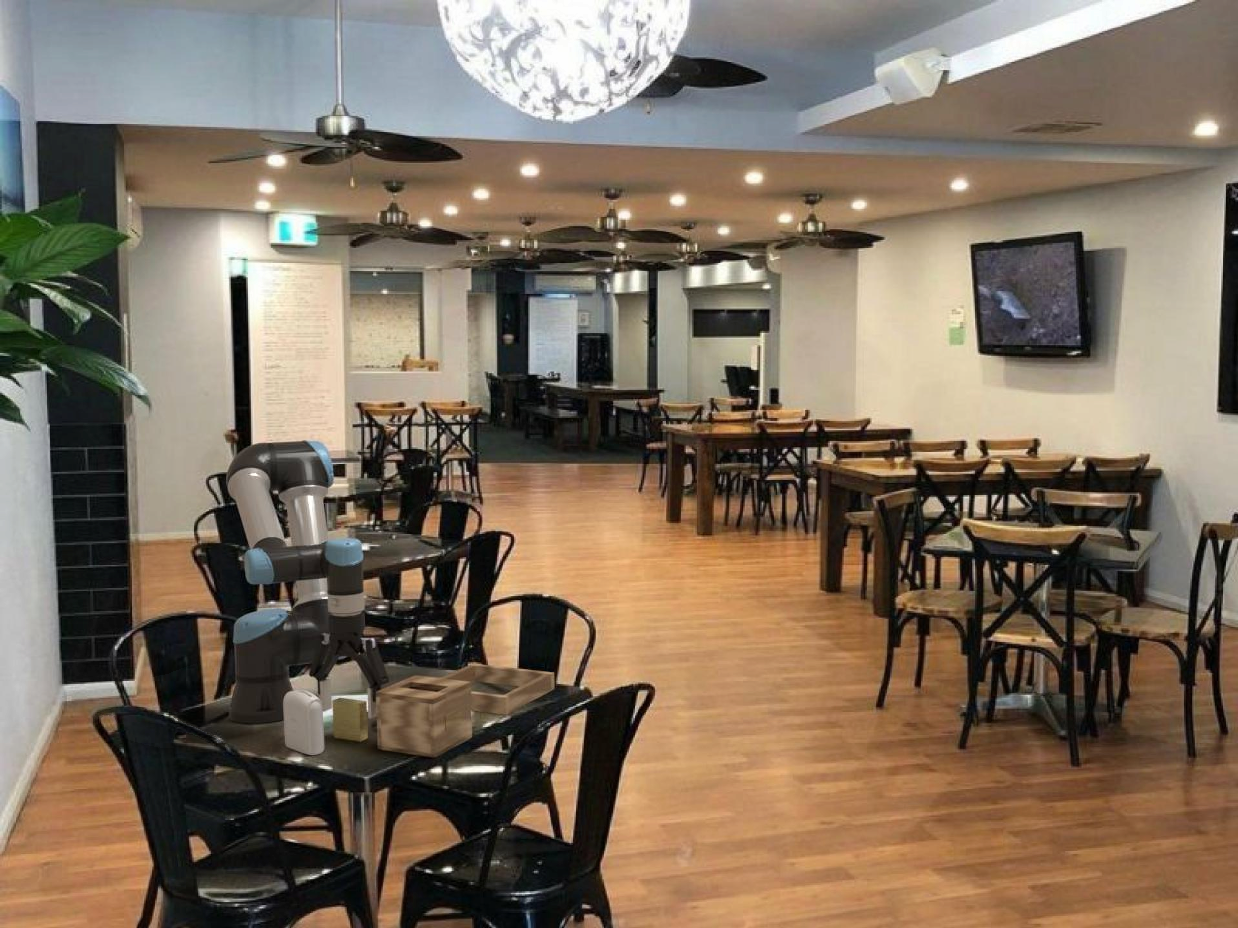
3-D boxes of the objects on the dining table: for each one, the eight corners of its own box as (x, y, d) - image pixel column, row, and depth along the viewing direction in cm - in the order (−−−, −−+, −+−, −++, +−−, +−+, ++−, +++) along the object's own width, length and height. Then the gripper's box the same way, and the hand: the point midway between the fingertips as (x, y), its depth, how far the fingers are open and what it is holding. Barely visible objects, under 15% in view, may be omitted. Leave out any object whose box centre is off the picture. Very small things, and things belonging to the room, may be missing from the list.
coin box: (377, 748, 245) (375, 691, 244) (417, 729, 258) (415, 675, 257) (435, 757, 239) (433, 699, 238) (473, 737, 252) (471, 681, 251)
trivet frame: (420, 703, 277) (419, 686, 277) (473, 679, 298) (472, 663, 298) (505, 714, 268) (505, 697, 267) (554, 688, 288) (554, 672, 288)
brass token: (333, 737, 254) (332, 700, 253) (341, 733, 256) (339, 697, 255) (360, 741, 251) (359, 704, 250) (367, 737, 253) (366, 701, 252)
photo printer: (282, 746, 248) (279, 688, 247) (300, 741, 251) (297, 684, 250) (309, 757, 241) (307, 697, 240) (327, 752, 244) (325, 693, 243)
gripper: (289, 611, 253) (293, 711, 255) (382, 620, 242) (385, 724, 244) (312, 604, 259) (316, 702, 261) (403, 613, 249) (407, 714, 251)
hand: (349, 713), depth 253 cm, fingers open, 12 cm apart
